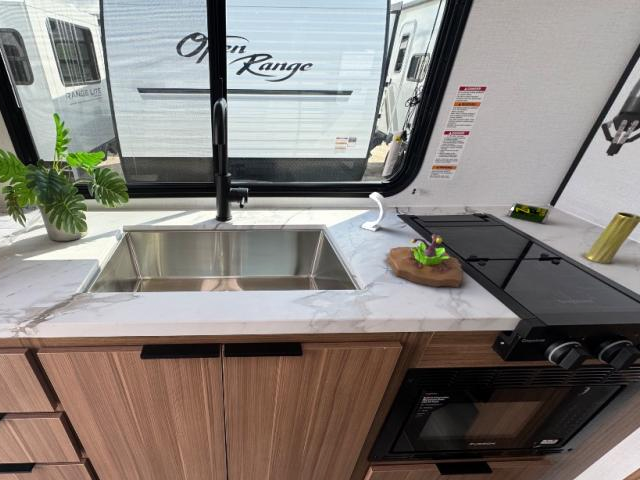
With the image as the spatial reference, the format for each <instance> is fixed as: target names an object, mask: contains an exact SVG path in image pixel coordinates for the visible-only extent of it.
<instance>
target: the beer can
mask: <svg viewBox="0 0 640 480" xmlns="http://www.w3.org/2000/svg"><path fill="white" fill-rule="evenodd" d="M551 212H552V211H551V209H549V208H544V207H538V206H533V205H529V204H524V203H517V202H515V203H514V202H513V203H512V204H511V207H509V210H508V211H507V214H506V216H508V217H510V218H514V219H519V220H522V221H523V220H525V221H529V222H533V223H538V224H544V223H545V222H546V221H547V219H548V218H549V215H550V214H551Z"/></svg>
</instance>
